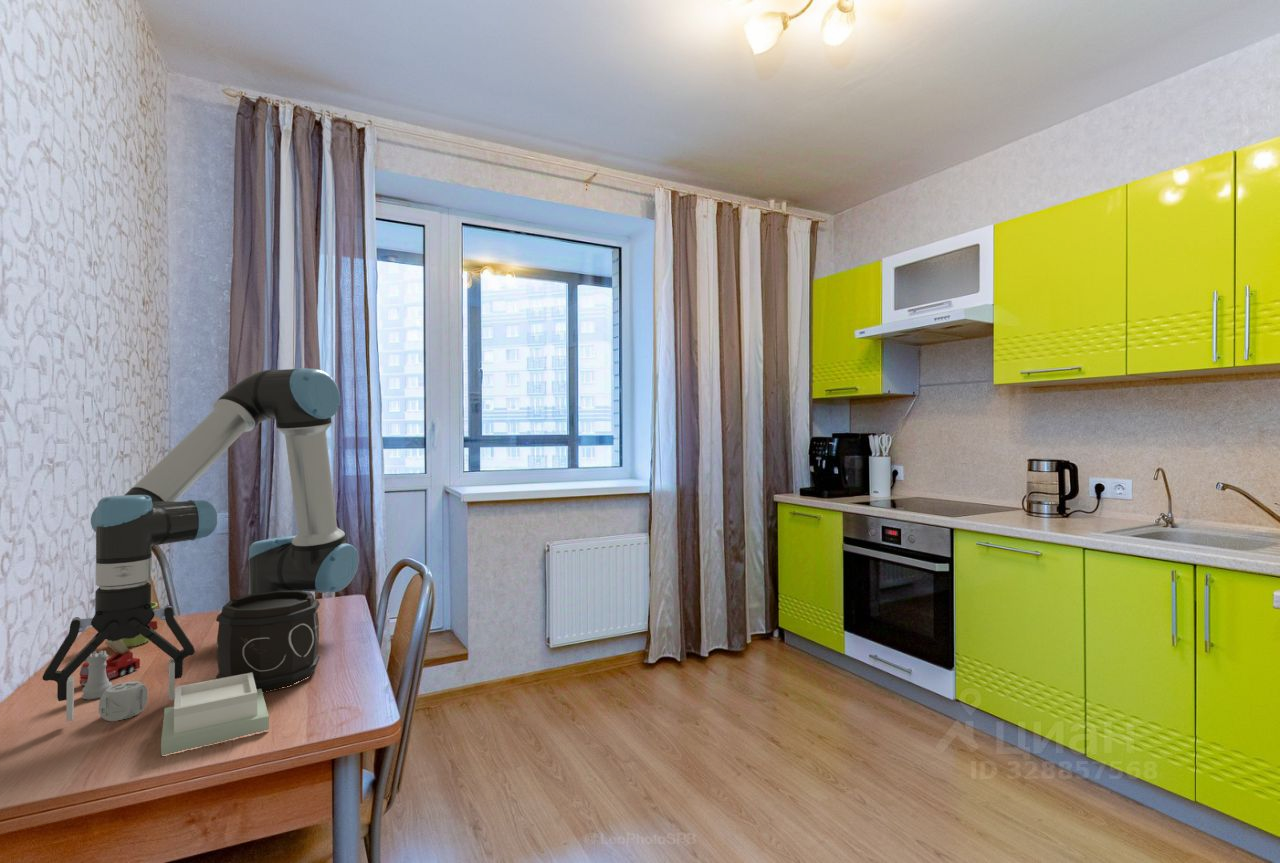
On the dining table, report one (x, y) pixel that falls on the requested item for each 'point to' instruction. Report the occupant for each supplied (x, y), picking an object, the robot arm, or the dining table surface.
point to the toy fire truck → (116, 660)
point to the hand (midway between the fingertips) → (122, 707)
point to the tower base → (212, 730)
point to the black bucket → (269, 638)
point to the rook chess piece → (96, 676)
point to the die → (123, 701)
